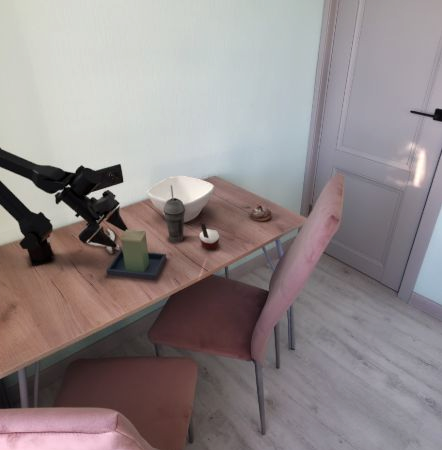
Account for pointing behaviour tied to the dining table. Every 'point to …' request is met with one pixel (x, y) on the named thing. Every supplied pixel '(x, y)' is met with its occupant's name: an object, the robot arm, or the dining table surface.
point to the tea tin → (135, 250)
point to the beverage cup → (174, 218)
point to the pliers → (107, 246)
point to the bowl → (182, 194)
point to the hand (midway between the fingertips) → (122, 238)
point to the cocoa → (208, 238)
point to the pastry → (261, 213)
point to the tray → (150, 273)
